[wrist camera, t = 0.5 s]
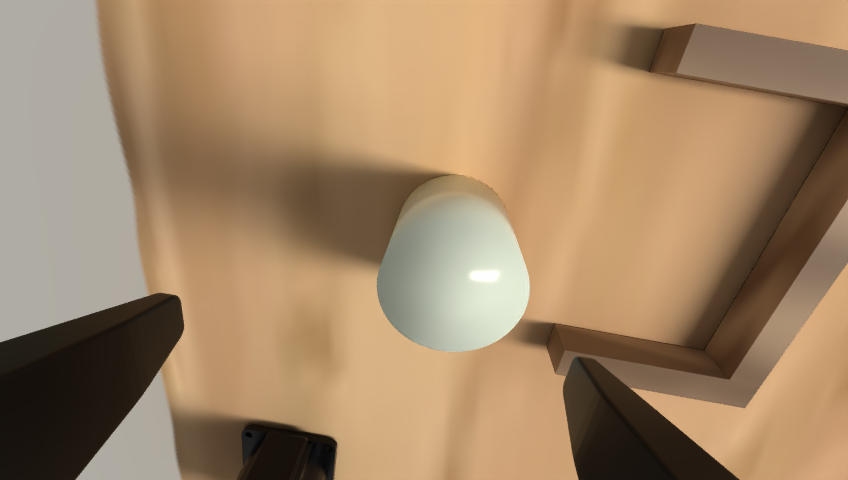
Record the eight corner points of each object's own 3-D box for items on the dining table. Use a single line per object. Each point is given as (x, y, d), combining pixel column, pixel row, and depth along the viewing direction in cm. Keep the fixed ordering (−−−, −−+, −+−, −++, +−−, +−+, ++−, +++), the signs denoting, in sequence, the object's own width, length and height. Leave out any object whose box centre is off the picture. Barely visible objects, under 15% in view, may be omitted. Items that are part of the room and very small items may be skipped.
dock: (719, 377, 22) (744, 408, 20) (546, 346, 22) (555, 374, 20) (913, 72, 15) (981, 73, 13) (665, 28, 16) (695, 23, 14)
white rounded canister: (494, 284, 21) (507, 363, 16) (392, 266, 21) (369, 338, 16) (522, 185, 19) (549, 237, 13) (407, 165, 19) (386, 208, 13)
